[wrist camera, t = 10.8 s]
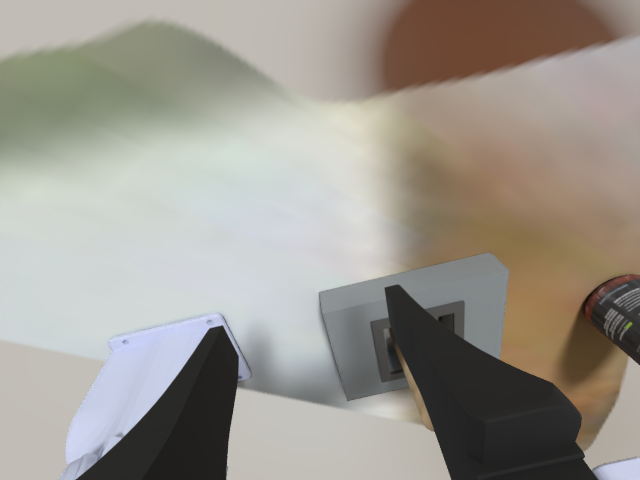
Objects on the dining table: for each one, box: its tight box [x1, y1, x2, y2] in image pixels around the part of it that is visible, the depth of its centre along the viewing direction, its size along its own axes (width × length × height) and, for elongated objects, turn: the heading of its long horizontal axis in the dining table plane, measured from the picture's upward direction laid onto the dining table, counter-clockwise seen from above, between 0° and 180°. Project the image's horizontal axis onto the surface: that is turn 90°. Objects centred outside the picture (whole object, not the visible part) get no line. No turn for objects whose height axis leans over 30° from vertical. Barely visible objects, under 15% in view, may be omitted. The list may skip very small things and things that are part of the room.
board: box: [319, 252, 509, 401], centre depth 27 cm, size 14×11×3 cm
